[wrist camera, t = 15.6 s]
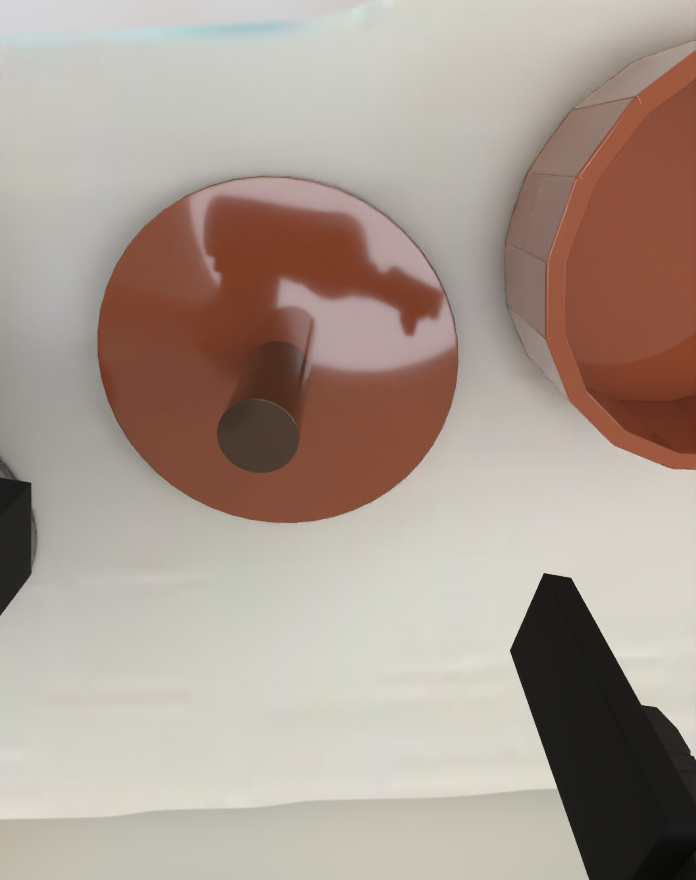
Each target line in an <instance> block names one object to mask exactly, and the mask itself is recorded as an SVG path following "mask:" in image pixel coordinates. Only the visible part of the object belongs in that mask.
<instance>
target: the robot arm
mask: <svg viewBox="0 0 696 880" xmlns="http://www.w3.org/2000/svg"><path fill="white" fill-rule="evenodd" d="M35 548H36V533H35V526H34V520H33V517H32V513H31V483H29V482H23V481H18V480H15V479H14V477H13V476H12V474H11V473H10V472H9V470H8V469H7V468H6V467H5V465H4V464H3V463H2V462H1V461H0V615H1V614H2V613H3V611H4V610H5V609H6V607H7V606H8V605H9V603H10V602H11V601H12V599H13V598H14V597H15V595H16V594H17V592H18V591H19V590H20V588H21V587H22V586H23V584H24V583H25V582H26V580H27V579H28V578H29V576H30V575H31V567H32V564H33V560H34V556H35ZM510 652H511V655H512V658H513V661H514V664H515V667H516V670H517V673H518V675H519V678H520V681H521V684H522V687H523V690H524V693H525V696H526V699H527V701H528V704H529V707H530V710H531V713H532V716H533V719H534V722H535V725H536V727H537V730H538V733H539V736H540V739H541V742H542V745H543V748H544V750H545V753H546V756H547V759H548V762H549V765H550V768H551V771H552V774H553V776H554V779H555V782H556V785H557V788H558V791H559V794H560V797H561V799H562V802H563V805H564V808H565V811H566V814H567V816H568V820H569V822H570V826H571V828H572V831H573V834H574V837H575V840H576V843H577V846H578V848H579V851H580V854H581V857H582V860H583V863H584V866H585V869H586V872H587V875H588V877H589V880H696V760H695V758H694V756H691V754H690V752H691V751H690V749H689V748H688V746H687V744H686V743H685V741H684V739H683V738H682V736H681V734H680V733H679V731H678V729H677V728H676V727H675V726H674V725H673V724H672V723H671V722H670V721H669V720H668V719H667V718H666V717H665V715H664V714H663V713H662V712H661V711H660V710H659V709H658V708H657V707H651V706H644V705H641V704H640V702H639V700H638V698H637V696H636V695H635V693H634V691H633V689H632V687H631V685H630V684H629V682H628V680H627V678H626V676H625V675H624V673H623V671H622V669H621V667H620V666H619V664H618V662H617V660H616V658H615V657H614V655H613V653H612V651H611V649H610V647H609V646H608V644H607V642H606V640H605V638H604V637H603V635H602V633H601V631H600V629H599V628H598V626H597V624H596V622H595V620H594V619H593V617H592V615H591V613H590V611H589V609H588V608H587V606H586V604H585V602H584V600H583V599H582V597H581V595H580V593H579V591H578V590H577V588H576V586H575V584H574V582H573V580H572V579H571V578H569V577H563V576H557V575H552V574H546V573H544V574H543V576H542V579H541V581H540V583H539V585H538V588H537V590H536V592H535V595H534V597H533V599H532V601H531V604H530V606H529V608H528V611H527V613H526V615H525V617H524V620H523V622H522V624H521V627H520V629H519V631H518V633H517V636H516V638H515V640H514V643H513V645H512V647H511V649H510Z"/></svg>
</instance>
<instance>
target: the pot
mask: <svg viewBox="0 0 696 880" xmlns="http://www.w3.org/2000/svg"><path fill="white" fill-rule="evenodd" d="M505 285H506V293H507V306H508V309H509V311H510V314H511V316H512V319H513V323H514V325H515V328H516V330H517V332H518V334H519V337H520V339H521V341H522V343H523V346H524V348H525V351H526V353H527V355H528V357H529V358H530V359H531V360H532V361H533V362H534V364H535V365H536V366H537V367H538V368H539V369H540V370H541V371H542V372H543V373H544V374H545V375H546V376H547V378H548V379H549V380H550V381H551V382H552V383H553V384H554V385H555V386H556V387H557V388H558V389H559V391H560V392H561V393H562V394H563V395H564V396H565V397H566V398H567V399H568V400H569V401H570V402H571V403H572V404H573V405H574V406H575V407H576V408H577V409H578V410H579V411H580V412H581V413H582V414H583V415H584V416H585V417H586V418H587V419H588V420H589V421H590V422H591V423H592V424H593V425H594V426H595V427H596V428H597V429H598V430H599V432H600V433H601V434H602V435H603V436H604V437H605V438H606V439H607V440H608V441H609V442H610V443H611V444H613V445H614V446H616V447H619V448H621V449H624V450H626V451H629V452H631V453H634V454H636V455H638V456H641V457H643V458H646V459H648V460H651V461H653V462H656V463H658V464H661V465H663V466H666V467H668V468H672V469H687V470H696V40H693V41H691V42H688V43H685V44H682V45H679V46H676V47H673V48H670V49H667V50H664V51H662V52H659V53H656V54H653V55H650V56H647V57H644V58H641V59H638V60H636V61H634V62H633V63H631V64H630V65H629V66H627V67H626V68H625V69H624V70H622V71H621V72H620V73H618V74H617V75H615V76H614V77H613V78H611V79H610V80H609V81H607V82H606V83H605V84H603V85H602V86H600V87H599V88H598V89H596V90H595V91H594V92H592V93H591V94H590V95H589V96H588V97H587V98H586V99H585V100H584V101H582V102H581V103H580V104H578V105H577V106H576V107H575V108H573V109H572V111H571V112H570V113H569V115H568V116H567V118H566V119H565V120H564V122H563V123H562V124H561V125H560V126H559V127H558V129H557V130H556V131H555V132H554V133H553V135H552V136H551V138H550V139H549V141H548V142H547V143H546V145H545V146H544V148H543V149H542V151H541V152H540V154H539V155H538V157H537V158H536V160H535V162H534V164H533V166H532V168H531V169H530V170H529V173H528V174H527V176H526V179H525V181H524V184H523V186H522V189H521V192H520V194H519V197H518V199H517V202H516V205H515V207H514V211H513V215H512V219H511V223H510V227H509V231H508V235H507V238H506V252H505Z"/></svg>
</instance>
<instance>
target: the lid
mask: <svg viewBox="0 0 696 880" xmlns="http://www.w3.org/2000/svg"><path fill="white" fill-rule="evenodd" d="M98 359H99V366H100V372H101V379H102V382H103V385H104V389H105V392H106V396H107V399H108V402H109V404H110V406H111V408H112V411H113V413H114V415H115V418H116V420H117V422H118V423H119V425H120V427H121V428H122V430H123V432H124V433H125V435H126V437H127V439H128V440H129V441H130V443H131V444H132V445H133V447H134V448H135V449H136V450H137V452H138V453H139V454H140V456H141V457H142V458H143V459H144V460H145V461H146V462H147V463H148V464H149V465H150V466H151V467H152V468H153V469H154V470H155V471H156V472H157V473H158V474H159V475H160V476H162V477H163V478H164V479H165V480H166V481H168V482H169V483H170V484H171V485H173V486H174V487H175V488H177V489H179V490H180V491H182V492H183V493H185V494H186V495H188V496H190V497H191V498H193V499H195V500H197V501H199V502H201V503H203V504H205V505H207V506H209V507H211V508H214V509H217V510H219V511H222V512H225V513H228V514H230V515H234V516H238V517H242V518H246V519H250V520H257V521H265V522H273V523H297V522H308V521H316V520H321V519H326V518H330V517H335V516H338V515H341V514H344V513H347V512H350V511H353V510H355V509H357V508H359V507H362V506H364V505H366V504H368V503H370V502H372V501H374V500H375V499H377V498H379V497H380V496H382V495H383V494H385V493H387V492H388V491H390V490H391V489H392V488H393V487H395V486H396V485H397V484H398V483H400V482H401V481H402V480H403V479H405V478H406V477H407V476H408V475H409V474H410V473H411V471H412V470H413V469H414V468H415V467H416V466H417V465H418V464H419V463H420V462H421V461H422V459H423V458H424V457H425V455H426V454H427V453H428V451H429V450H430V448H431V447H432V446H433V444H434V442H435V440H436V439H437V437H438V435H439V433H440V431H441V430H442V428H443V426H444V423H445V420H446V418H447V415H448V413H449V410H450V408H451V404H452V400H453V396H454V392H455V388H456V381H457V371H458V341H457V335H456V329H455V323H454V317H453V314H452V311H451V308H450V305H449V302H448V298H447V295H446V293H445V291H444V289H443V287H442V285H441V282H440V280H439V278H438V276H437V274H436V272H435V271H434V269H433V268H432V266H431V265H430V263H429V261H428V260H427V258H426V257H425V255H424V254H423V252H422V251H421V250H420V249H419V247H418V246H417V245H416V244H415V243H414V242H413V241H412V239H411V238H410V237H409V236H408V235H407V234H406V233H405V231H403V230H402V229H401V228H400V227H399V226H398V225H397V224H395V223H394V222H393V221H392V220H391V219H390V218H389V217H387V216H386V215H385V214H384V213H382V212H381V211H379V210H378V209H376V208H375V207H373V206H372V205H370V204H369V203H367V202H365V201H364V200H362V199H360V198H358V197H356V196H354V195H352V194H349V193H347V192H345V191H343V190H341V189H339V188H335V187H332V186H329V185H326V184H323V183H320V182H317V181H312V180H307V179H301V178H295V177H289V176H256V177H247V178H239V179H233V180H229V181H226V182H222V183H218V184H214V185H211V186H208V187H205V188H203V189H201V190H199V191H196V192H194V193H192V194H189V195H187V196H185V197H183V198H182V199H180V200H179V201H177V202H175V203H174V204H172V205H171V206H169V207H167V208H166V209H164V210H163V211H162V212H161V213H159V214H158V215H157V216H156V217H155V218H154V219H152V220H151V221H150V222H149V223H148V224H147V225H145V226H144V228H143V229H142V230H141V231H140V232H139V233H138V235H137V236H136V237H135V238H134V239H133V240H132V242H131V243H130V244H129V245H128V247H127V248H126V250H125V252H124V253H123V255H122V256H121V258H120V260H119V261H118V263H117V264H116V266H115V269H114V271H113V273H112V275H111V278H110V280H109V282H108V285H107V287H106V290H105V294H104V298H103V302H102V305H101V309H100V316H99V325H98Z"/></svg>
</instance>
